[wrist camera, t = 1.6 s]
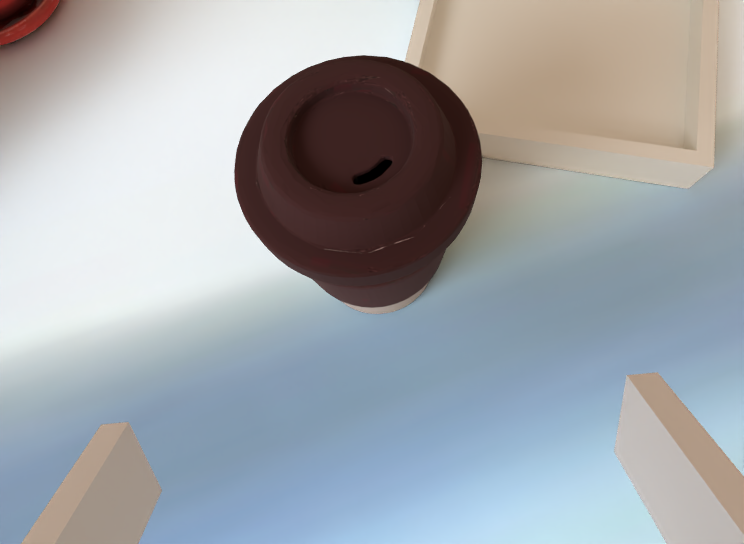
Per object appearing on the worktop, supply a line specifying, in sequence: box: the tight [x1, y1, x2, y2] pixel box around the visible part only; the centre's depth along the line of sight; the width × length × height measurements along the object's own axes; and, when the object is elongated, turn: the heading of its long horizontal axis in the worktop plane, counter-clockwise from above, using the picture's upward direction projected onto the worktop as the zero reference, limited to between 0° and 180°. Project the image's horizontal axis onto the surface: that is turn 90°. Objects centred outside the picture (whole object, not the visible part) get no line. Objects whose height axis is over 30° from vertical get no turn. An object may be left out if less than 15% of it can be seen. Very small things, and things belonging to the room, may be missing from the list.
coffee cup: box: [234, 55, 482, 314], centre depth 24 cm, size 10×10×15 cm
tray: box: [405, 0, 719, 189], centre depth 33 cm, size 20×16×3 cm
